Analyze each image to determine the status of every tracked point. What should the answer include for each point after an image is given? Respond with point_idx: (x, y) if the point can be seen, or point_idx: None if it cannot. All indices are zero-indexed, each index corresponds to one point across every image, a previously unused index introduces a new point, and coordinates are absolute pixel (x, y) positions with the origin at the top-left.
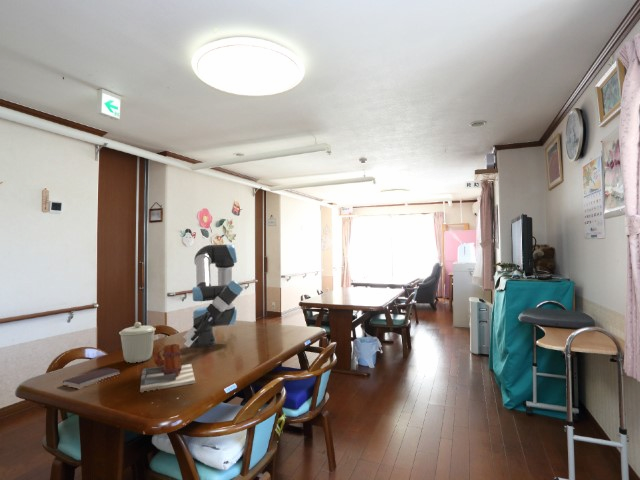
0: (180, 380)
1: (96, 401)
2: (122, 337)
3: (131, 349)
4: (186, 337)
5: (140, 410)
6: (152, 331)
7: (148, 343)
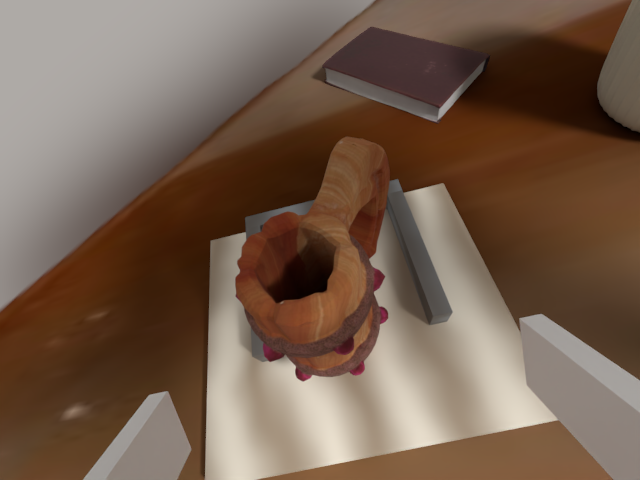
0: (243, 391)
1: (209, 155)
2: None
3: (625, 35)
4: (541, 368)
5: (60, 293)
6: None
7: None
